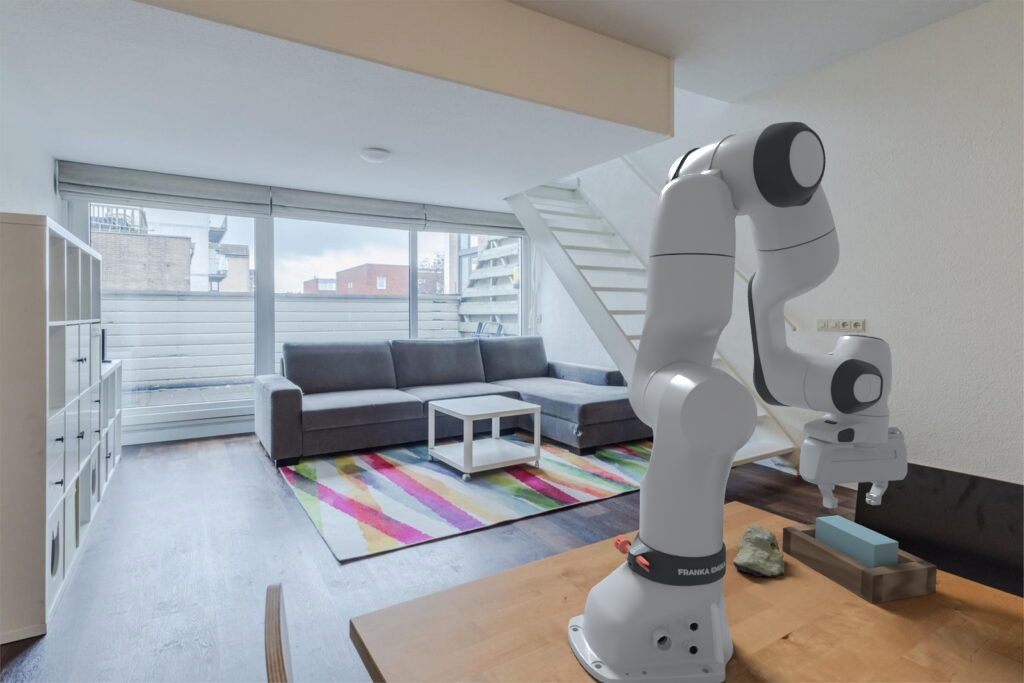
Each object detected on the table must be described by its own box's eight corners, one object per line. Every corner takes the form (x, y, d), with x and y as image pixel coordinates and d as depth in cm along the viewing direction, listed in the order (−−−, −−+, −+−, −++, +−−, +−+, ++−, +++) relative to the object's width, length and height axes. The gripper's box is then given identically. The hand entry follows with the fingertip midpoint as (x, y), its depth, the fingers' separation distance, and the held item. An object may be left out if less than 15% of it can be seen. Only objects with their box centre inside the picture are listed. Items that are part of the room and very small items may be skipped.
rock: (742, 585, 91) (801, 578, 91) (737, 549, 91) (795, 541, 91) (720, 558, 102) (772, 551, 102) (715, 526, 102) (768, 518, 101)
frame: (871, 603, 83) (873, 575, 83) (782, 550, 102) (783, 527, 102) (935, 592, 87) (936, 565, 86) (837, 543, 105) (838, 521, 105)
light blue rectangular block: (815, 538, 99) (816, 517, 99) (837, 535, 100) (837, 515, 100) (873, 568, 87) (874, 545, 87) (897, 565, 89) (898, 542, 88)
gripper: (887, 423, 99) (881, 496, 99) (795, 425, 93) (790, 502, 94) (921, 430, 92) (915, 508, 93) (825, 433, 87) (819, 516, 88)
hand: (851, 505), depth 94 cm, fingers open, 8 cm apart
